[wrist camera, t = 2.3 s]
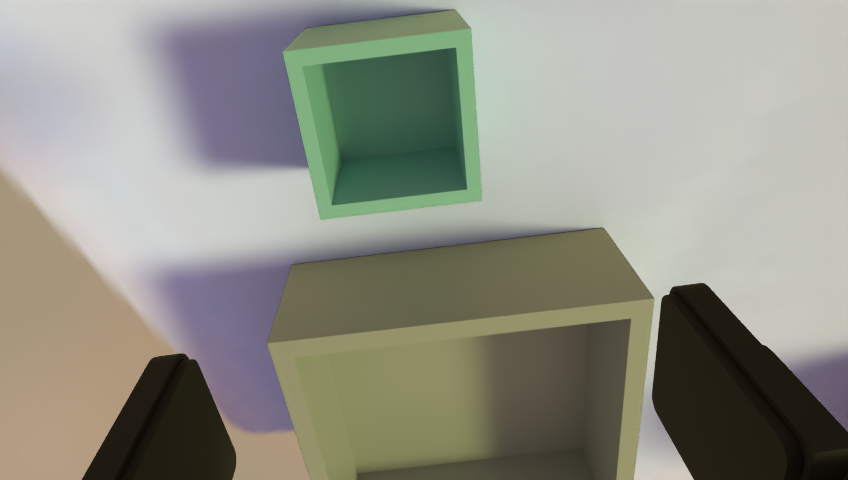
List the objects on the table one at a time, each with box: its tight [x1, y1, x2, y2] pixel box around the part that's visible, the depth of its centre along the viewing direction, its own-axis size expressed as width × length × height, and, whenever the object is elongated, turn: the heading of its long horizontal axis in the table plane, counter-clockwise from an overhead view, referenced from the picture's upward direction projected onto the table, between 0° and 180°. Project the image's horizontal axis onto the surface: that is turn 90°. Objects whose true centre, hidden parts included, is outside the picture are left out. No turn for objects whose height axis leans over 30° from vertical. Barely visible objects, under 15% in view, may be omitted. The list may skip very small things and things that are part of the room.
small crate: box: [283, 10, 482, 220], centre depth 25 cm, size 7×7×6 cm
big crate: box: [267, 228, 654, 480], centre depth 33 cm, size 18×18×7 cm
